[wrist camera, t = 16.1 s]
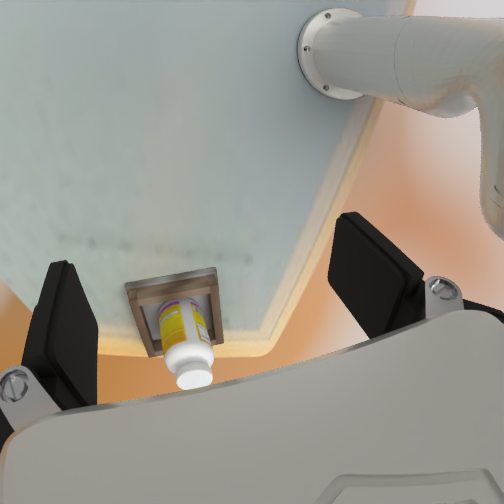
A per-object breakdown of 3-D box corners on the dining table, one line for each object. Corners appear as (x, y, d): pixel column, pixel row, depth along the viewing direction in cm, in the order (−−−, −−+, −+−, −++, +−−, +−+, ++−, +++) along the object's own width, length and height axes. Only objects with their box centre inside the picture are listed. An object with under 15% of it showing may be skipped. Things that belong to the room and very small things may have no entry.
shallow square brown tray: (215, 267, 46) (220, 282, 44) (221, 328, 54) (226, 344, 51) (125, 283, 43) (125, 299, 40) (145, 343, 51) (147, 359, 48)
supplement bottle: (153, 324, 48) (163, 394, 38) (163, 292, 45) (174, 363, 35) (194, 329, 51) (211, 395, 40) (206, 298, 48) (227, 366, 38)
